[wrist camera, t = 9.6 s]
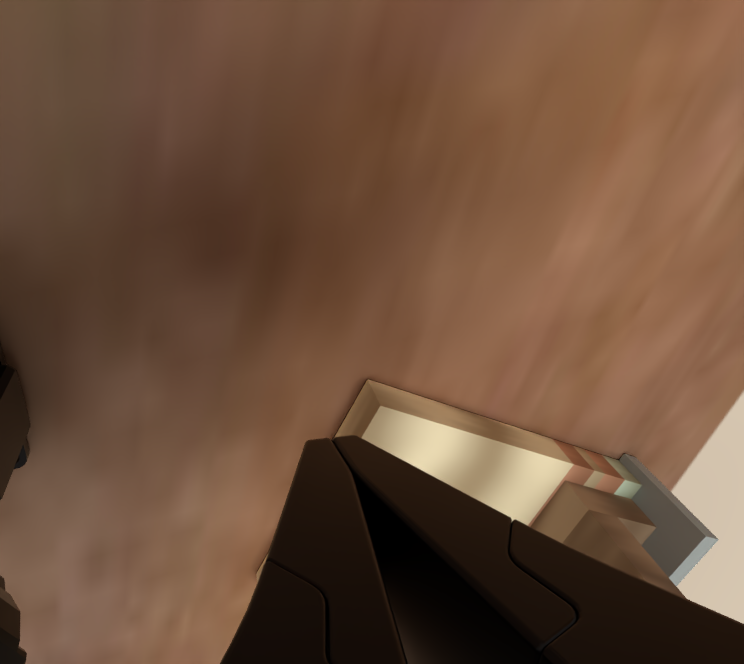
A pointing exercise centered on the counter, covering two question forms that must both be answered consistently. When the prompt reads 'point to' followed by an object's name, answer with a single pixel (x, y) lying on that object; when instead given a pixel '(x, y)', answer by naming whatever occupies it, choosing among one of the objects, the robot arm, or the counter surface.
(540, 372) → the counter surface
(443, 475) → the board
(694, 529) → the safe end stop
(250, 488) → the counter surface
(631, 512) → the bookend block
